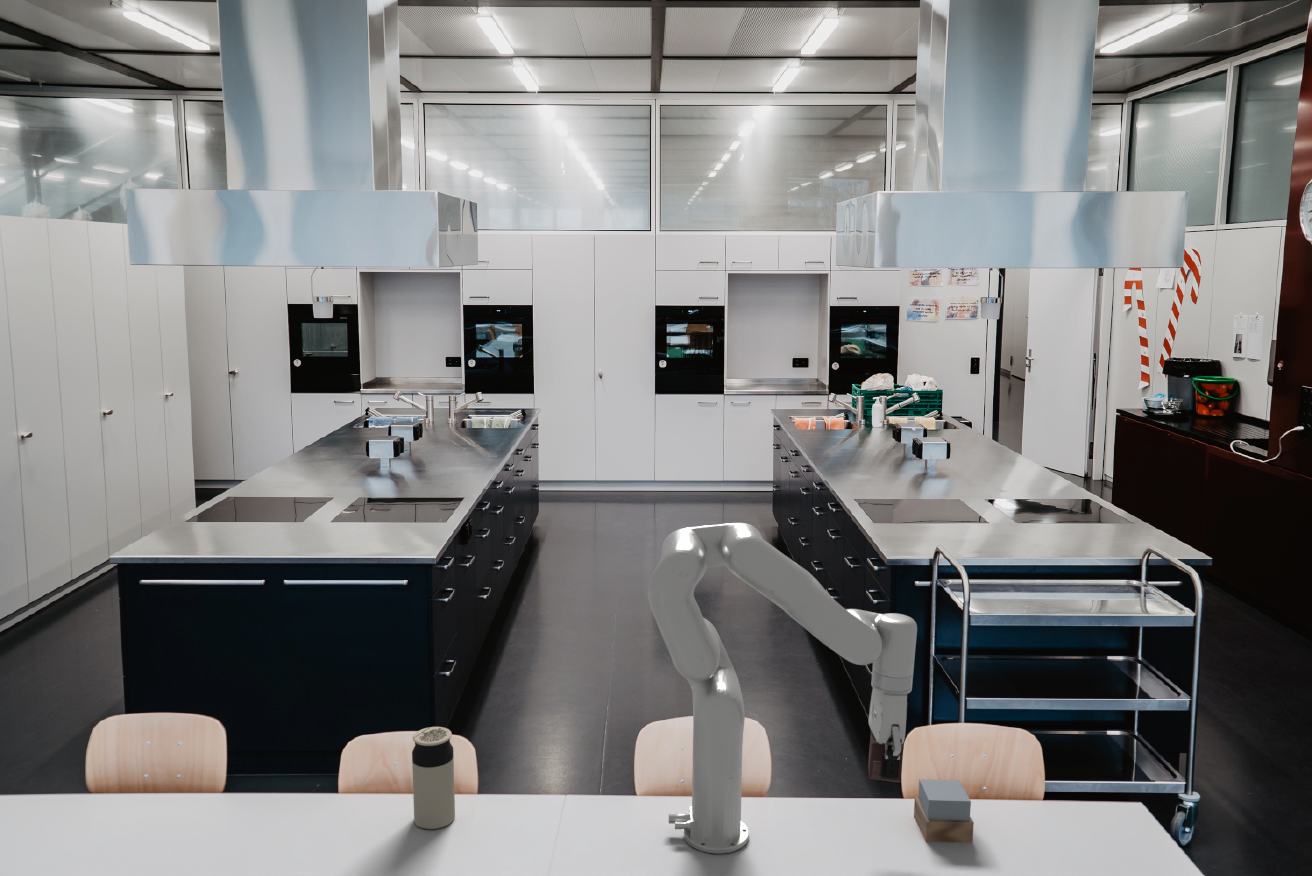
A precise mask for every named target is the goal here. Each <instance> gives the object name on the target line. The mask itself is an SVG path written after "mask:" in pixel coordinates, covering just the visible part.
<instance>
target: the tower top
mask: <svg viewBox="0 0 1312 876" xmlns="http://www.w3.org/2000/svg"><path fill="white" fill-rule="evenodd" d="M918 781H919V782H918V796H917V797H918V798H919V800H920V803H921V805H922V807H923V809H924V812H925V814H926V816H927V819H930V820H963V821H970V817H971V806H972V801H971V799H970V798H969V795H968V794H967V791H966V790H965V788H964V787H963V786H964V785H963V784H962V782H961V780H959V779H958V780H955V779H950V780H949V779H923V778H921V779H919V780H918Z"/></svg>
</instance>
